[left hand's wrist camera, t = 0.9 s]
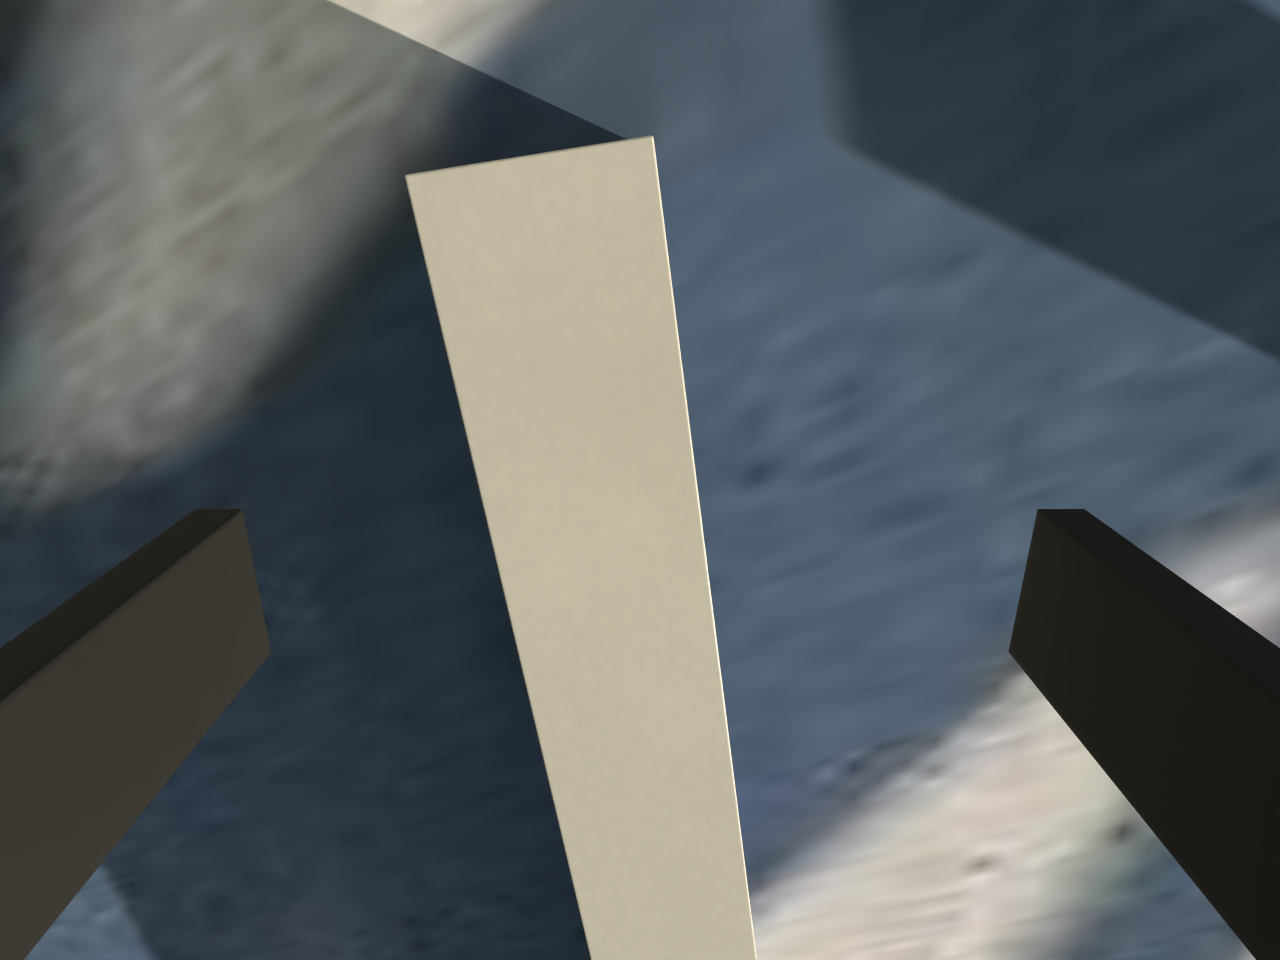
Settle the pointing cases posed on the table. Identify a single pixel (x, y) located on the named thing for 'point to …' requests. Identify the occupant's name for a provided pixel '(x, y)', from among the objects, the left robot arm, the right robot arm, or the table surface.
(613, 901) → the beam
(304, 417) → the table surface
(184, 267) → the table surface
